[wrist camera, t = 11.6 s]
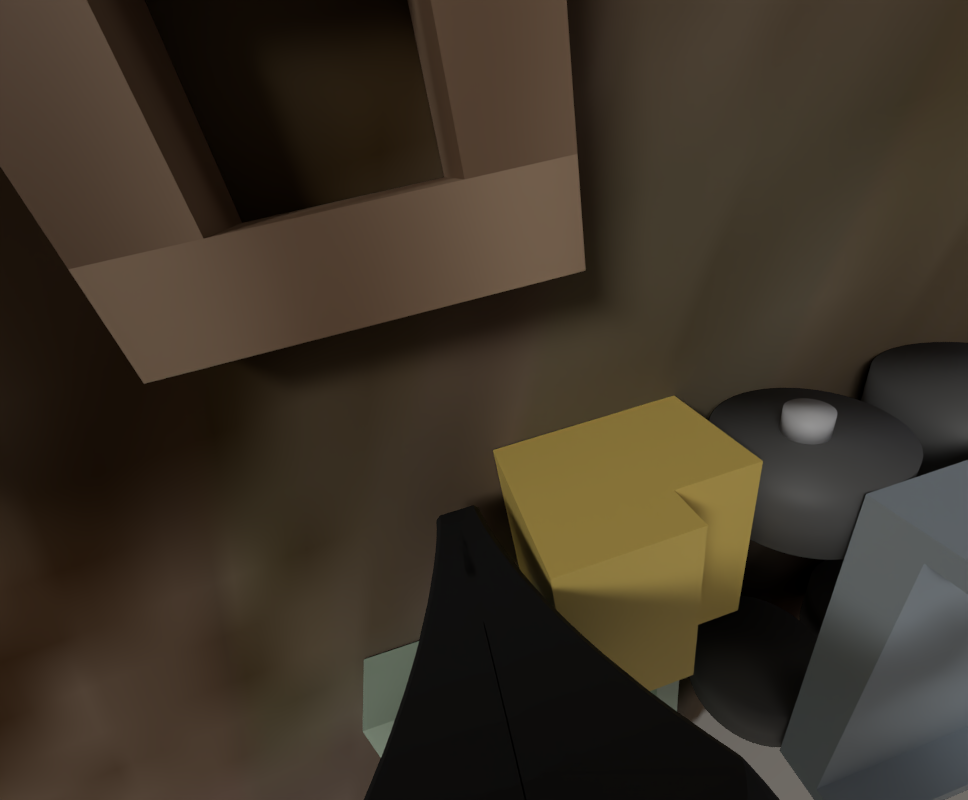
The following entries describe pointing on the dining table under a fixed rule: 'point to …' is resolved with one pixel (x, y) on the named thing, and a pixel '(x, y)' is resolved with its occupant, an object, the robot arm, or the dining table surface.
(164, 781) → the dining table surface
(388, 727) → the tray
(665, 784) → the robot arm
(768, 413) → the trolley
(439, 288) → the pin socket
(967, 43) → the dining table surface
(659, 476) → the block
